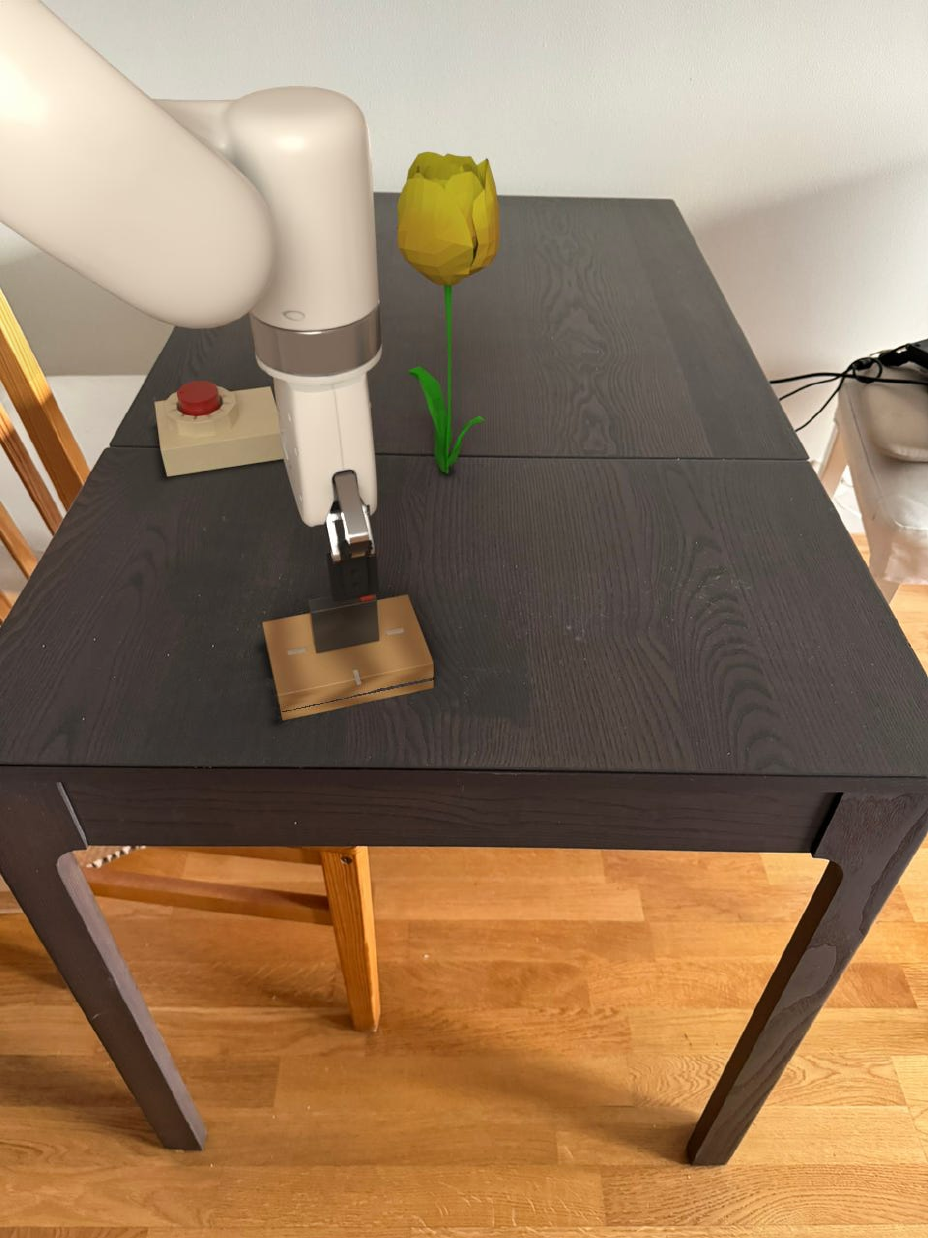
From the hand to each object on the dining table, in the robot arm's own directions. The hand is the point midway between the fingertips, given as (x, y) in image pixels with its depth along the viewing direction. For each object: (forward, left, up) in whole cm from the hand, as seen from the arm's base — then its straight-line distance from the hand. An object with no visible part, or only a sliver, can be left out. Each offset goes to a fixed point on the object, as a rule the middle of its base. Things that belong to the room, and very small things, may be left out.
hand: (340, 550), depth 67 cm
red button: (-8, +34, -7) cm, 36 cm away
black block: (0, 0, -9) cm, 9 cm away
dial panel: (0, 0, -12) cm, 12 cm away
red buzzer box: (-6, +34, -12) cm, 37 cm away
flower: (+15, +23, -12) cm, 30 cm away
